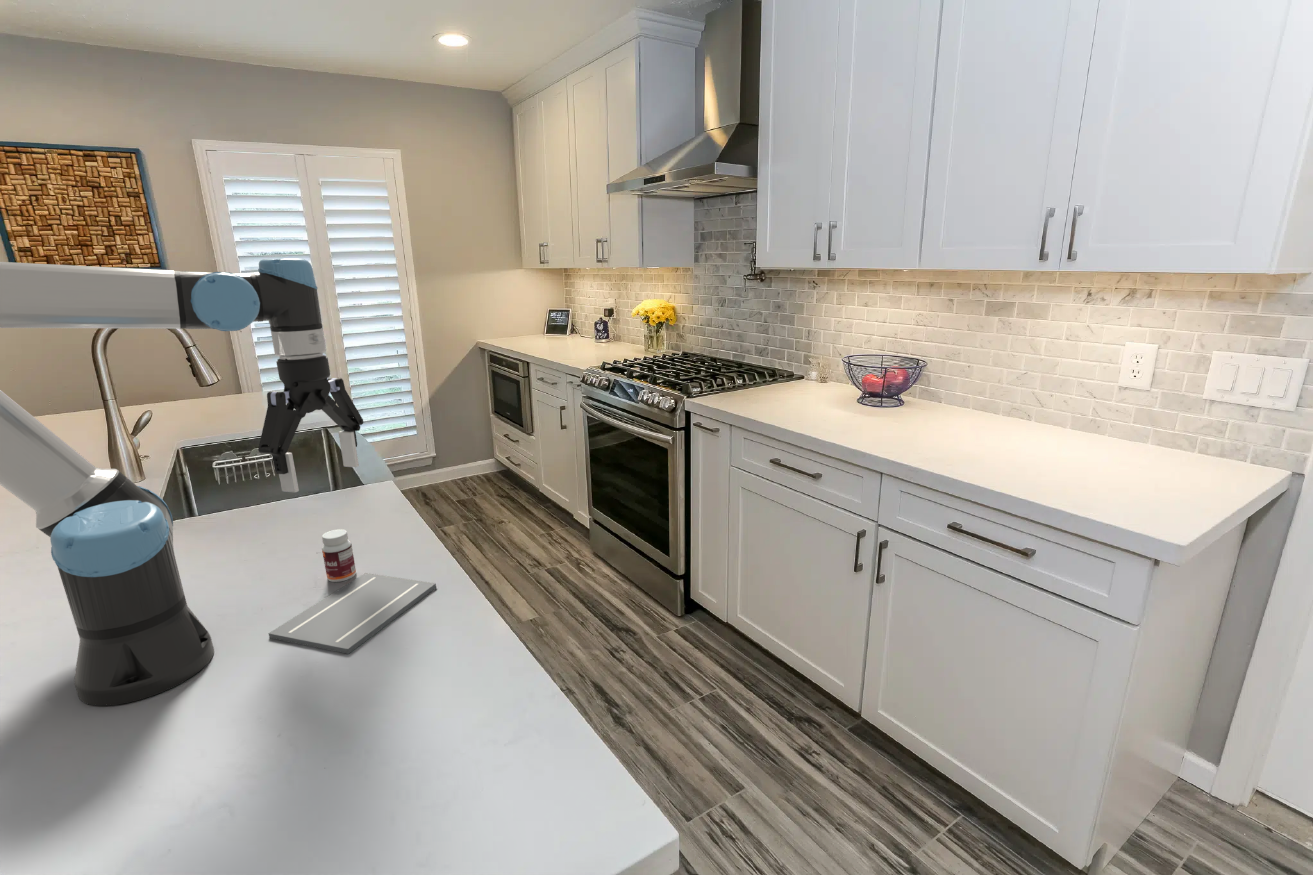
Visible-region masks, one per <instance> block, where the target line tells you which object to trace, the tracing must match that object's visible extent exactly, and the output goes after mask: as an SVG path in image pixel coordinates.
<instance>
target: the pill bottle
mask: <svg viewBox="0 0 1313 875" xmlns="http://www.w3.org/2000/svg"><path fill="white" fill-rule="evenodd" d="M321 540H322V544H323V545H322V547H321V551H322V556H323V557H322V558H323V563H324V569H325V573H326V578H327V580H328V581H330V582H331V583H340V582H345V581H349V580H350V579H352V578H353V577H355V576H356V574H357V568H356V563H355V557H354V552H353V545H352V541H350V540H349V535H348V531H347V530H346V529H344V528H343V529H342V528H339V529H337V528H336V529H332V530H329V531H326V532H324V533H323V534H322V535H321Z"/></svg>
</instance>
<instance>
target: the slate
mask: <svg viewBox="0 0 1313 875" xmlns="http://www.w3.org/2000/svg"><path fill="white" fill-rule="evenodd" d="M436 588H437V584H436V582H430V581H422V580H415V579H408V578H401V577H396V576H390V575H384V574H376V573H375V574H374V573H371V572H365V573H362V574H361V575H360V576H358V577H357V578H355V579H354V580H351V581H350V582H349V583H346V584H345V585H344V586H342V587H340V588H339V589H337V590H336V591H334V592H333V593H331V594H329V595H328V596H326V597H324V598H323V599H322V600H321V599H320V600H319V601H318V602H317V603H315V604H313V605H312V606H309V607H308V608H307V609H305V610H303V611H302V612H301V613H298V614H297V615H295V616H294V617H293V618H290V620H287V621H286V622H284V623H283V624H281V625H279V626H278V627H276V628H275V629H273V630H271V631H270V632H269V633H268V638H269V639H272V640H278V641H283V642H289V643H293V644H298V645H303V646H307V647H312V648H316V649H317V648H318V649H323V650H326V651H331V652H338V653H342V654H347V655H348V654H350V653H352V652H353V651H355V650H356V649H357V648H358V647H360V646H361V645H363V644H364V643H365V642H366V641H368V640H370V638H372V637H374V635H376V634H377V633H379V631H381V630H383V629H384V628H385V627H386V626H388V625H389V624H391V623H392V622H393V621H394V620H395V619H397V618H399V616H401V615H402V614H403V613H405V612H406V611H407V610H408V609H410V608H412V607H413V606H414V605H416V603H419V601H421V600H422V599H423V598H425V597H426V596H427V595H429V594H430V593H431V592H433V591H434V590H435V589H436Z"/></svg>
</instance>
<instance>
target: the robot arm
mask: <svg viewBox="0 0 1313 875" xmlns="http://www.w3.org/2000/svg"><path fill="white" fill-rule="evenodd" d="M257 269H258V271H254V272H247V273H246V272H245V273H244V272H240V273H238V272H237V273H233V272H227V271H214V272H210V271H208V272H206V271H189V270H188V271H187V270H184V271H183V270H180V271H179V270H171V269H169V270H168V269H152V268H151V269H150V268H149V269H148V268H129V267H112V266H110V267H109V266H93V265H92V266H91V265H90V266H89V265H88V266H87V265H70V264H53V263H52V264H51V263H50V264H49V263H48V264H47V263H32V262H31V263H29V262H11V261H9V262H8V261H0V328H1V329H168V330H169V329H178V330H179V329H184V330H217V331H221V332H236V331H240V330H241V331H242V330H244V329H246V328H247V327H248V326H249V325H251V324H252V323H254V322H257V323H258V322H268V323H269V328H270V334H271V340H272V345H273V352H274V355H275V356H277V357H279V358H277V360H276V361H275V362H276V369H277V372H278V373H277V374H278V379H279V380H280V381H281V382H282V383H283V391H268V392H267V394H266V398H267V399H266V400H267V408H266V413H265V417H264V422H263V425H262V431H261V434H260V438H259V444H258V445H259V446H258V452H259V453H260V454H268V455H270V456H271V457H272V463H273V468H274V471H275V474H278V477H279V481H280V487H281V492H287V493H297V492H299V491H300V489H299V484H298V478H297V473H296V468H295V462H294V457H293V452H289V448H290V446H291V444H292V441H293V440H294V437H295V435H296V432H297V431H298V428H299V426H300V423H301V421H302V419H304V418H305V417H306V414H311V413H313V412H315V411H320V410H322V412H324V413H325V415H326V416H328V417H329V418H330V419H331V420H332V421H333V422H334V423H335V424H336V425H337V426H338V427H339V428H340V429H341V430H340V431H338V439H339V444H340V451H341V456H342V464H343V467H347V468H358V467H360V466H359V464H360V463H359V458H358V452H357V448H358V440H357V435H356V434H357V432H359V431H360V430H361V426H362V425H363V424H364V418H363V417H362V415H361V414H360V412H359V410H358V408H357V407H356V405H355V403H354V402H353V400H352V399H351V397H350V395H349V393H348V391H347V390H346V385H345V382H344V379H343V378H341V377H340V378H339V377H338V378H337V377H330V376H331V370H330V362H329V358H328V356H327V355H326V354H325V352H326V351H327V346H326V340H325V334H324V328H323V321H322V315H321V308H320V302H319V295H318V286H317V284H316V280H315V279H316V278H315V274H314V270H313V266H312V264H311V262H309V260H307V259H304V258H270V259H269V258H268V259H260V261H259V262H258V268H257ZM330 394H331V396H330ZM0 486H1V487H2V488H4V489H5V490H6V491H8V492H9V493H11V494H12V495H14V496H15V497H16V498H18V499H19V500H20V501H22V502H23V503H24V504H26V505H27V506H28V507H30V508H31V509H32V510H34V511H35V514H36V517H35V528H36V529H37V530H39V531H40V532H42V533H43V534H45V535H46V536H48V538H50V545H51V547H50V554H51V559H52V560H53V561H54V563H55V566H56V567H57V570H58V573H59V576H60V579H61V580H60V581H61V582H62V586H63V588H64V592H65V596H66V599H67V602H68V605H69V608H70V611H71V616H72V618H73V621H74V625H75V627H76V631H77V634H78V637H79V638H78V639H79V644H78V651H77V658H76V666H75V673H74V680H73V681H74V686H75V690H76V693H77V696H78V699H79V700H80V701H81V702H82V703H84V704H87V705H90V706H99V707H107V706H118V705H124V704H129V703H133V702H137V701H141V700H143V699H147V698H150V697H153V696H155V695H158V694H160V693H163V692H165V691H168V690H170V689H172V688H175V687H176V686H178V685H180V684H183V683H184V682H186V681H187V680H188V679H189V680H190V678H192V677H193V676H195V675H196V674H198V673H199V672H200V671H202V670H203V669H204V668H205V667H206V666H207V665H208V664H209V663H210V661H211V660H212V658H213V657H214V654H215V648H214V647H215V646H214V644H213V641H212V640H213V639H212V637H211V634H210V633H209V631H208V630H207V628H205V626H204V625H203V624H202V622H201V621H200V620H199V618H198V617H197V616H196V615H195V614H194V612H193V611H192V610H191V608H190V607H189V606H188V603H187V600H186V599H187V598H186V596H185V592H184V587H183V584H182V580H181V576H180V572H179V568H178V564H177V558H176V556H175V550H174V528H173V527H174V519H173V515H172V512H171V510H170V509H169V506H168V505H167V503H166V502H165V501H164V499H163V498H162V497H161V496H159V495H158V494H156V493H155V492H154V491H152V490H150V489H148V488H146V487H142V486H139V485H137V484H135V483H134V482H133V481H132V480H130V478H128V477H127V476H126V475H125V474H123V473H122V472H121V471H120V470H118V469H117V468H100V467H96V466H95V465H93V464H92V463H91V462H90V461H88V460H87V459H86V458H85V457H84V456H82V455H81V454H80V453H79V452H78V451H76V450H75V449H74V448H73V447H72V446H70V445H69V444H68V443H67V442H65V441H64V440H63V439H61V437H59V436H58V435H57V434H56V433H54V432H53V431H52V430H51V429H49V428H48V427H47V426H46V425H44V424H43V423H42V422H41V421H39V420H38V419H37V418H36V417H35V416H34V415H33V414H31V413H30V412H29V411H28V410H26V409H25V408H24V407H23V406H21V405H20V404H18V403H17V402H16V401H15V400H13V399H12V398H11V397H10V396H9V395H8V394H6V393H5V392H4V391H3V390H1V389H0Z"/></svg>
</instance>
